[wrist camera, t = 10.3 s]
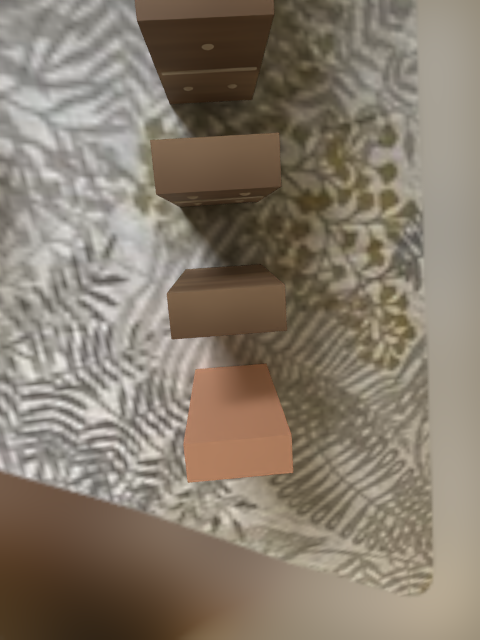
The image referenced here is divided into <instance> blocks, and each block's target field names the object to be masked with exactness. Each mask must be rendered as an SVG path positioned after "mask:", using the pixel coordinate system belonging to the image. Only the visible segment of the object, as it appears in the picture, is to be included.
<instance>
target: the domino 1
mask: <svg viewBox="0 0 480 640" xmlns="http://www.w3.org/2000/svg"><path fill="white" fill-rule="evenodd" d="M135 7H136V16H137V22H138V25H139V27H140V30H141V32H142V35H143V37H144V40H145V42H146V45H147V47H148V50H149V52H150V55H151V57H152V60H153V63H154V65H155V68H156V70H157V73H158V75H159V78H160V80H161V83H162V85H163V88H164V90H165V93H166V95H167V98H168V100H169V103H170V104H184V103H202V102H220V101H238V100H252V98H253V94H254V91H255V87H256V83H257V79H258V75H259V71H260V67H261V64H262V60H263V56H264V52H265V48H266V44H267V41H268V37H269V33H270V29H271V25H272V21H273V17H274V0H135Z"/></svg>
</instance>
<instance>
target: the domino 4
mask: <svg viewBox="0 0 480 640" xmlns="http://www.w3.org/2000/svg"><path fill="white" fill-rule="evenodd" d="M184 453H185V462H186V471H187V480H188V483H189V482H199V481H210V480H221V479H231V478H242V477H253V476H264V475H274V474H285V473H293V459H292V436H291V432H290V429H289V426H288V423H287V421H286V418H285V415H284V412H283V409H282V407H281V404H280V401H279V398H278V395H277V392H276V390H275V387H274V384H273V381H272V378H271V376H270V373H269V370H268V367H267V364H255V365H243V366H231V367H219V368H207V369H196V370H195V376H194V382H193V389H192V395H191V401H190V407H189V413H188V420H187V426H186V432H185V438H184Z"/></svg>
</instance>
